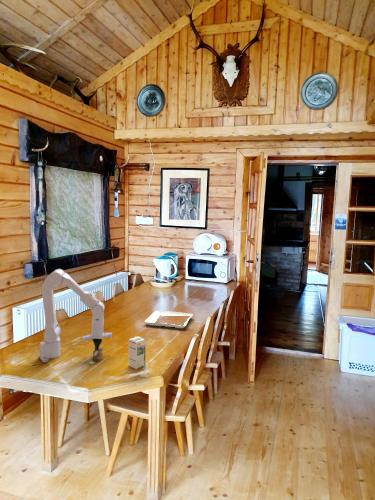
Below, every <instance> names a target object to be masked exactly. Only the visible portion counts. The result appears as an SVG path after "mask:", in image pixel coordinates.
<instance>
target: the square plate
mask: <svg viewBox="0 0 375 500" xmlns="http://www.w3.org/2000/svg"><path fill="white" fill-rule="evenodd" d="M160 315H161V316H190V317H189V318H188V319H187V321H186V322H185V323H184V325H183V326H181V325H175V324H167V323H155V322H156V321H157V319H158V318H159V316H160ZM193 315H194V314H193V313H189V312H188V313H187V312H182V311H181V312H180V311H171V310H155V311H154V312H152V313H151V315H149V316H148V317H147V318H146V319H145V320H144V322H143V323H144V324H145V325H147V326H152V327H153V326H154V327H161V326H165V327H164V328H171V327H175V328H174V329H184V328H185V327H186V326H187V325H188V322H190V321H189V320H190V319H191V318H192V317H193Z"/></svg>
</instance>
